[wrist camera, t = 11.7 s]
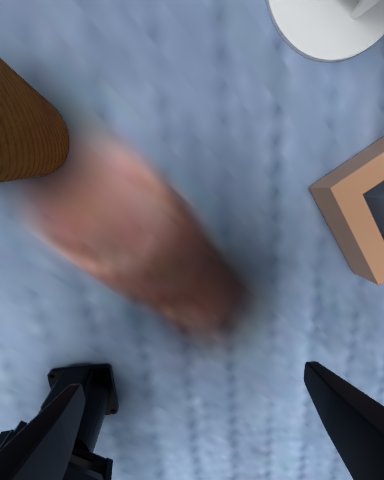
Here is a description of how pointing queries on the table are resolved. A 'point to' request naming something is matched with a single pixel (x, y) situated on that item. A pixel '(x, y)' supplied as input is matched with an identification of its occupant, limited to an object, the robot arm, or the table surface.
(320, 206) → the frame
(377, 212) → the post
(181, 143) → the table surface
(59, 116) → the disposable coffee cup
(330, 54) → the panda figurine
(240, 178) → the table surface
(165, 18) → the table surface
